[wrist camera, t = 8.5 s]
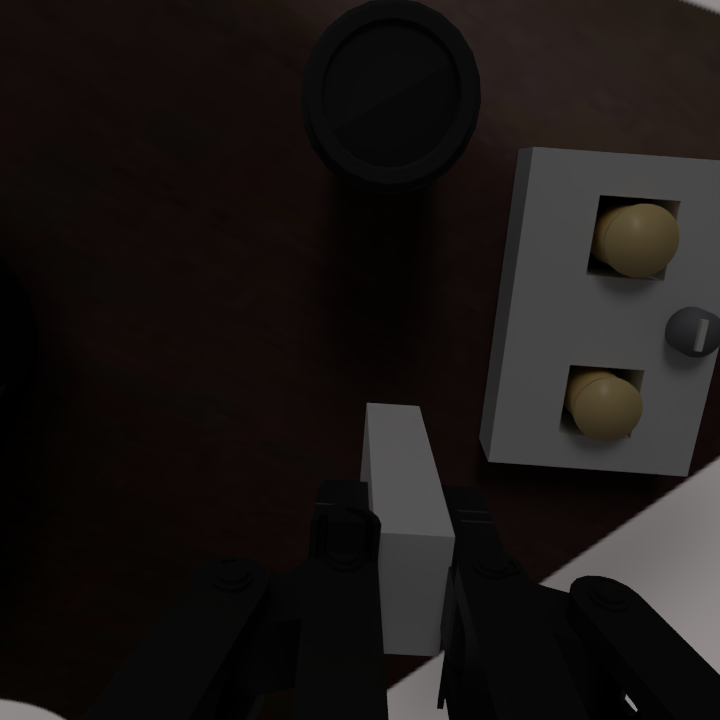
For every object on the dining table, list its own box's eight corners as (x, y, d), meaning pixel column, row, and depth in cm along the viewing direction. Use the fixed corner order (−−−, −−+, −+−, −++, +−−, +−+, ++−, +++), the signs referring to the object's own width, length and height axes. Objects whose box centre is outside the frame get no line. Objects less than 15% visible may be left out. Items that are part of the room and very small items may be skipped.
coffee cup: (469, 150, 41) (520, 137, 27) (359, 211, 43) (352, 229, 28) (412, 28, 39) (435, -55, 25) (299, 96, 41) (258, 53, 26)
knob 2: (552, 416, 45) (569, 439, 41) (562, 358, 44) (581, 376, 40) (613, 420, 45) (635, 443, 41) (624, 363, 44) (648, 381, 40)
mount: (479, 438, 47) (493, 473, 42) (518, 149, 41) (541, 145, 36) (661, 451, 47) (699, 488, 42) (727, 164, 41) (782, 163, 36)
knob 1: (578, 265, 42) (599, 274, 38) (590, 198, 41) (613, 201, 37) (643, 270, 42) (670, 280, 38) (657, 203, 41) (686, 206, 37)
